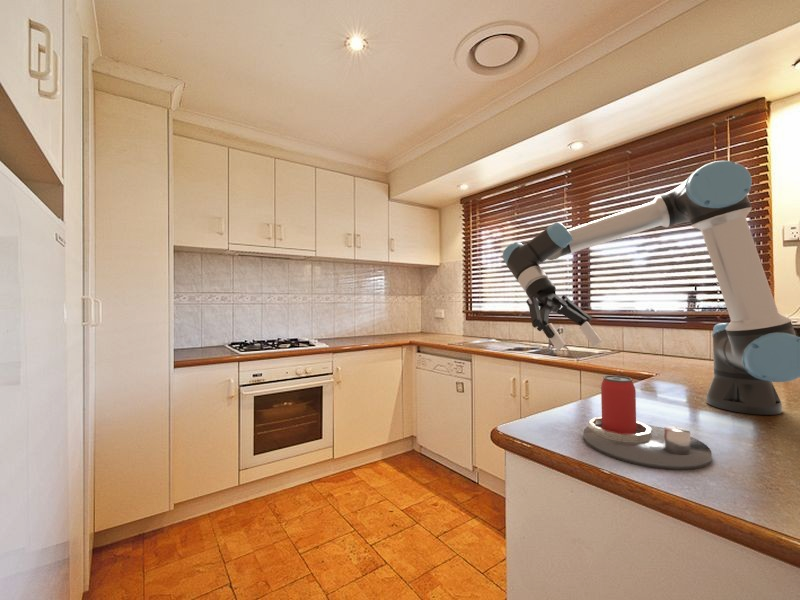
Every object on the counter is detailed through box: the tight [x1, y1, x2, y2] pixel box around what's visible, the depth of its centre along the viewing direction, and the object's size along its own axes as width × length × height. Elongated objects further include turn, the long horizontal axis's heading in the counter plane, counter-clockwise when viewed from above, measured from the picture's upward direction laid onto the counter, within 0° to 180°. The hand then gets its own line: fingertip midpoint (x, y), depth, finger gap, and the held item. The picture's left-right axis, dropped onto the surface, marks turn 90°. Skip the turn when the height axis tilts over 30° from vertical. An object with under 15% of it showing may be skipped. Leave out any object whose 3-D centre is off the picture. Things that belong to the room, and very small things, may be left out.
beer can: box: [600, 374, 637, 434], centre depth 81 cm, size 7×7×12 cm
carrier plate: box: [583, 416, 713, 471], centre depth 76 cm, size 22×22×5 cm
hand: (580, 345), depth 92 cm, fingers open, 13 cm apart
